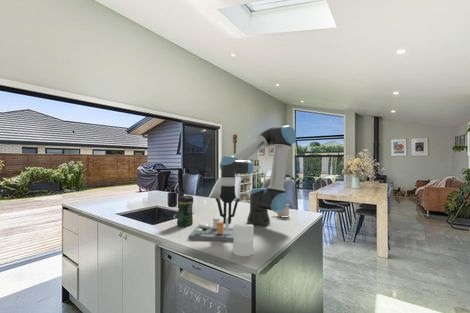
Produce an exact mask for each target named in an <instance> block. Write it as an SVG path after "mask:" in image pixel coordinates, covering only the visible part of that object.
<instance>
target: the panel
mask: <svg viewBox="0 0 470 313" xmlns="http://www.w3.org/2000/svg"><path fill="white" fill-rule="evenodd" d="M193 229H194V230H192V232H190V233H189V235H188V240H193V241H196V240H197V241H213V242H229V243H233V236H234V227H229V230H228V231H225V227H224V230H223V234H217V229H213V226H209V227H208V228H207V229H206V228H202V227H199V225H198V226H196V227H195V228H193Z"/></svg>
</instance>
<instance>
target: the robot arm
mask: <svg viewBox="0 0 470 313" xmlns="http://www.w3.org/2000/svg"><path fill="white" fill-rule="evenodd" d="M296 141H297V131H296V130H295V129H294V127H293V126H291V125H283V126H274V127H270V128H267V129H266V130H264V131H263V132H261V133H260V134H258V135H256V137H255V139H254V140H252V141H251V142H249V143H248V144H247V145H245V147H243V148H242V149H240V150H239V151H238V152H236V153H235V154H234V155H229V156H228V155H223V156H222V157H221V161H220V164H219V169H220V176H221V177H220V195H219V196H218V197H216V198H215V201H216V203H217V206H218V208H217V209H218V211H219V217H222V218H223V221H222V222H223V223H224V226H225V231H228V230H229V228H230V225H231V223H232V218H234V217H235V214H236V211H237V208H238V207H237V206H238V204H239V202H240V198H238V197H237V196H236V186H235V185H236V175H248V174H251V173H253V171H254V164H253V162H252V161H251V160H249V159H250V158H252V157H253V156H254V155H255V154H257V153H259V151H261V150H262V149H266V148H267V147H269V146H273V149H274V151H273V157H272V159H273V160H272V165H271V166H272V167H271V173H270V178H269V179H270V181H269V185H268V186H267V187H266V188H265V187H263V188H262V187H261V188H251V189H250V194H249V212H248V216H247V219H246V223H247V224H252V225H253V226H257V227H265V226H264V225H266V226H269V225H270V224H271V220H270V216H269V212H268V211H272V212H274V211H275V212H281V211H283V210H284V209H285V208H286V207H287V205H288V204H289V197H288V195H287V194H286V189H285V187H284V185H285V179H286V171H287V164H288V163H287V162H288V155H289V150H291V148H292V145H293V144H294V143H296ZM221 201H222V202H223V207H222V203H221ZM233 202H234V206H233V210H232V203H233ZM227 204H228V209H227ZM222 208H223V209H222ZM227 210H228V213H227ZM275 212H274V213H275ZM227 214H228V216H227ZM268 224H269V225H268Z"/></svg>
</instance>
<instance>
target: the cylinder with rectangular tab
mask: <svg viewBox="0 0 470 313" xmlns="http://www.w3.org/2000/svg"><path fill="white" fill-rule="evenodd" d="M233 228H234V236H233V242H232V243H233V244H232V246H233V247H232V248H233V249H232V252H233V254H234V255H236V256H238V257H248V256H251V255H253V254H254V231H255V230H254V225H252V224H248V223H247V224H233Z"/></svg>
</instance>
